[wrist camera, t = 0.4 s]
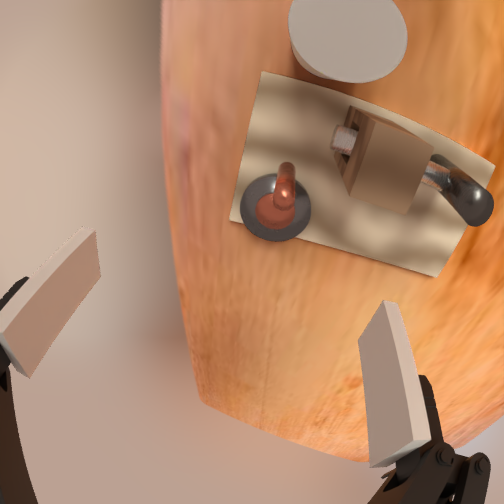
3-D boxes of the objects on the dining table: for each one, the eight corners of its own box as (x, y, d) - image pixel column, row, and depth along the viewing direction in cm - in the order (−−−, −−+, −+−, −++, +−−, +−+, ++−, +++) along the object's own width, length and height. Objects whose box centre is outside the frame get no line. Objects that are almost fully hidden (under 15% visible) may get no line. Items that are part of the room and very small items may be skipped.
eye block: (262, 71, 27) (244, 69, 17) (491, 163, 27) (546, 205, 18) (230, 216, 37) (205, 276, 28) (434, 273, 38) (462, 335, 28)
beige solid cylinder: (278, 21, 24) (268, -7, 14) (351, 2, 21) (380, -31, 11) (307, 88, 28) (314, 96, 18) (379, 70, 25) (422, 71, 15)
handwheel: (253, 149, 31) (237, 178, 24) (325, 169, 31) (334, 204, 24) (235, 226, 37) (218, 273, 29) (299, 243, 37) (298, 293, 29)
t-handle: (333, 111, 27) (349, 129, 19) (453, 161, 28) (499, 197, 19) (323, 142, 30) (334, 174, 21) (442, 187, 30) (482, 231, 21)
